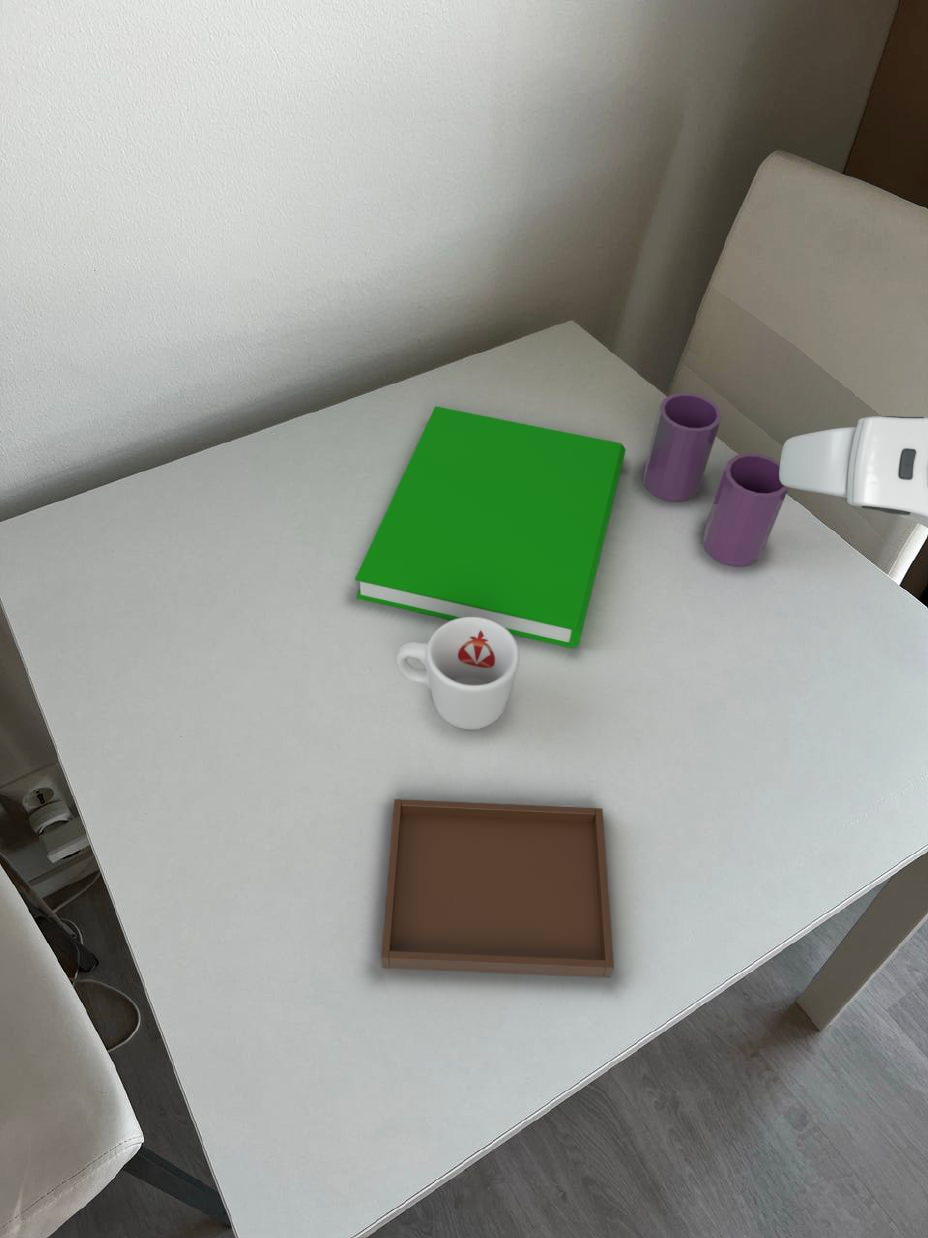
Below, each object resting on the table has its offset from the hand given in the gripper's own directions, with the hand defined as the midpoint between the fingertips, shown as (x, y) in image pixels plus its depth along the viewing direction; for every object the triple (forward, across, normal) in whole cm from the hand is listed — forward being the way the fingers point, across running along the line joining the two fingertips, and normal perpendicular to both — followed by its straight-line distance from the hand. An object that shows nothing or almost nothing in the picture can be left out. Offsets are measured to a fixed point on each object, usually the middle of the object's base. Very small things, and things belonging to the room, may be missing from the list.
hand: (848, 475), depth 83 cm
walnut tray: (-5, +30, +36) cm, 47 cm away
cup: (+9, +31, +24) cm, 40 cm away
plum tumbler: (+18, 0, +7) cm, 20 cm away
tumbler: (+26, +4, +1) cm, 27 cm away
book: (+25, +24, +8) cm, 36 cm away
